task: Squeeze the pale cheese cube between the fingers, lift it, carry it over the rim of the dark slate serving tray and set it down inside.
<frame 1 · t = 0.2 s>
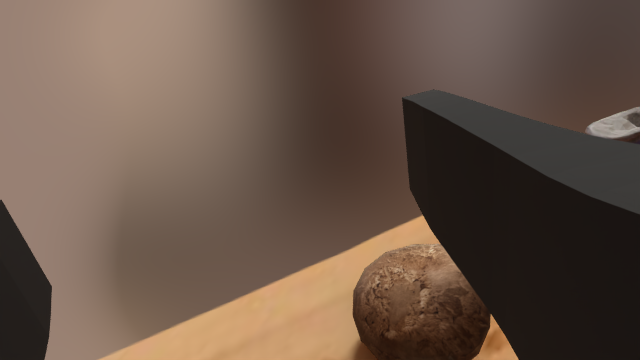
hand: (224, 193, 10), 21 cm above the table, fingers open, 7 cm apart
brown rough rounded lump: (420, 343, 34), on the table
flask: (632, 240, 39), on the table
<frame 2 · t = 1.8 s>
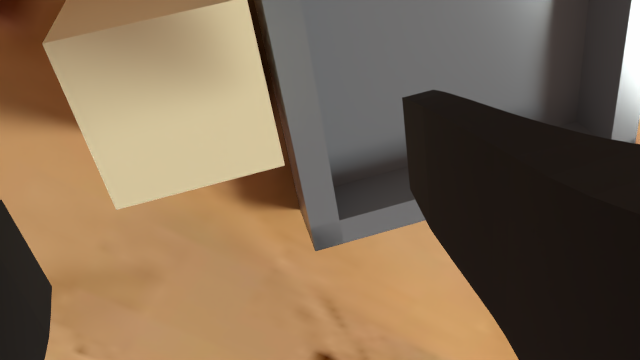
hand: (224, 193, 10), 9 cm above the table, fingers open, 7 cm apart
cheese cube: (173, 50, 17), on the table
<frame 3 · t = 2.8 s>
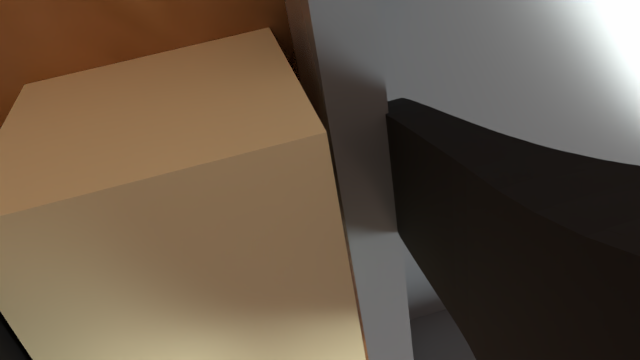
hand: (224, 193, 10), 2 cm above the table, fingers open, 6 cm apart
slate tray: (570, 60, 13), on the table
cheese cube: (184, 157, 12), on the table, touching gripper
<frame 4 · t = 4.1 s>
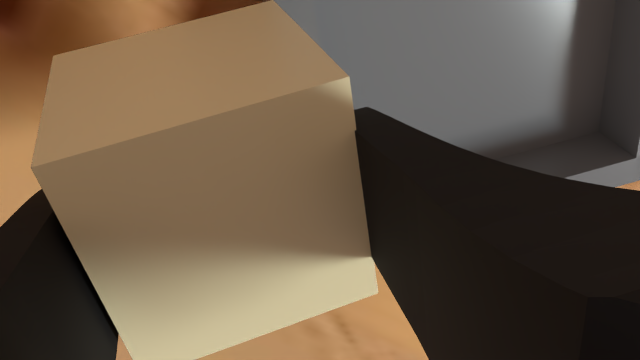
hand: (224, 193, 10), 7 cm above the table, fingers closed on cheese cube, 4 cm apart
cheese cube: (197, 123, 13), point 4 cm above the table, tilted 5°, touching gripper
when the fingers open (4 cm above the table, at t = 6.4 s): cheese cube stays where it is, resting on slate tray.
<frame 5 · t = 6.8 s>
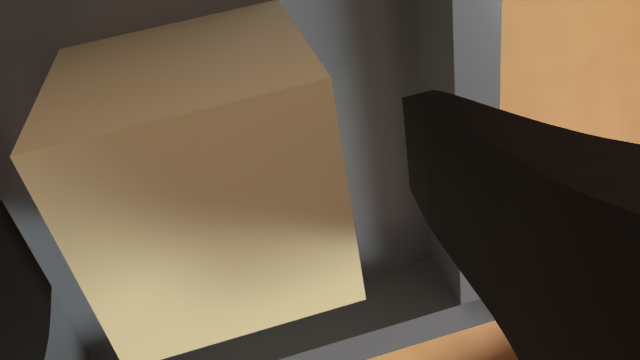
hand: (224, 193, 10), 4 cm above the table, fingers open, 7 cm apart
slate tray: (209, 111, 13), on the table
cheese cube: (200, 120, 13), resting on slate tray
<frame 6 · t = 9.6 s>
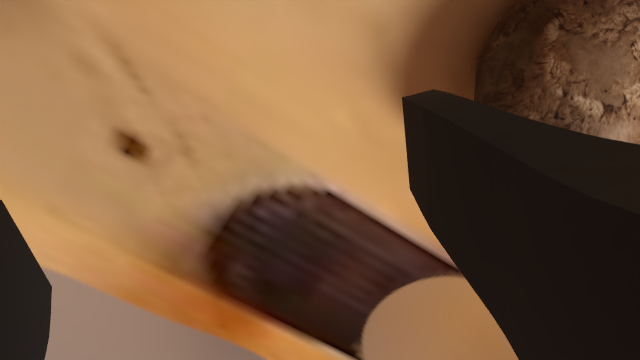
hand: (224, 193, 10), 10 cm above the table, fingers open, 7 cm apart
brown rough rounded lump: (541, 48, 23), on the table
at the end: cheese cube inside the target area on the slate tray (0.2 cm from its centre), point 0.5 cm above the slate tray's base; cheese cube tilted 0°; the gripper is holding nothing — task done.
